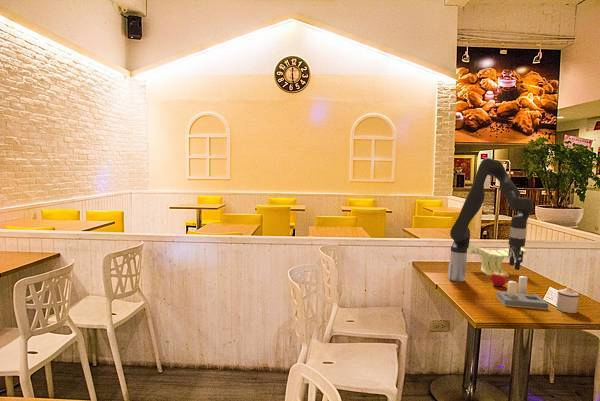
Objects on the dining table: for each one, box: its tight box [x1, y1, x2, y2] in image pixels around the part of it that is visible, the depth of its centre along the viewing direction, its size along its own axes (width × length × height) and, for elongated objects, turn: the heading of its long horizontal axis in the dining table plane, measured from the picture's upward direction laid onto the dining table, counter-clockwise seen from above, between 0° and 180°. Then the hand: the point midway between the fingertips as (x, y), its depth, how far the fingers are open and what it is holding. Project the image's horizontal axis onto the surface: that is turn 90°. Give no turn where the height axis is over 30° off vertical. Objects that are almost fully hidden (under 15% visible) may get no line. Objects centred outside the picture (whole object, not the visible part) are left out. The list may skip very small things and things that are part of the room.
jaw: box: [506, 280, 518, 298], centre depth 214 cm, size 5×5×10 cm
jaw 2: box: [516, 275, 528, 294], centre depth 227 cm, size 5×5×10 cm
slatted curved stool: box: [467, 242, 527, 278], centre depth 270 cm, size 30×16×18 cm, turn 85°
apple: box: [490, 269, 508, 287], centre depth 242 cm, size 8×8×10 cm
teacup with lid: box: [555, 286, 580, 314], centre depth 207 cm, size 12×9×12 cm
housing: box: [495, 290, 549, 310], centre depth 214 cm, size 20×14×3 cm
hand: (514, 267), depth 214 cm, fingers open, 8 cm apart
